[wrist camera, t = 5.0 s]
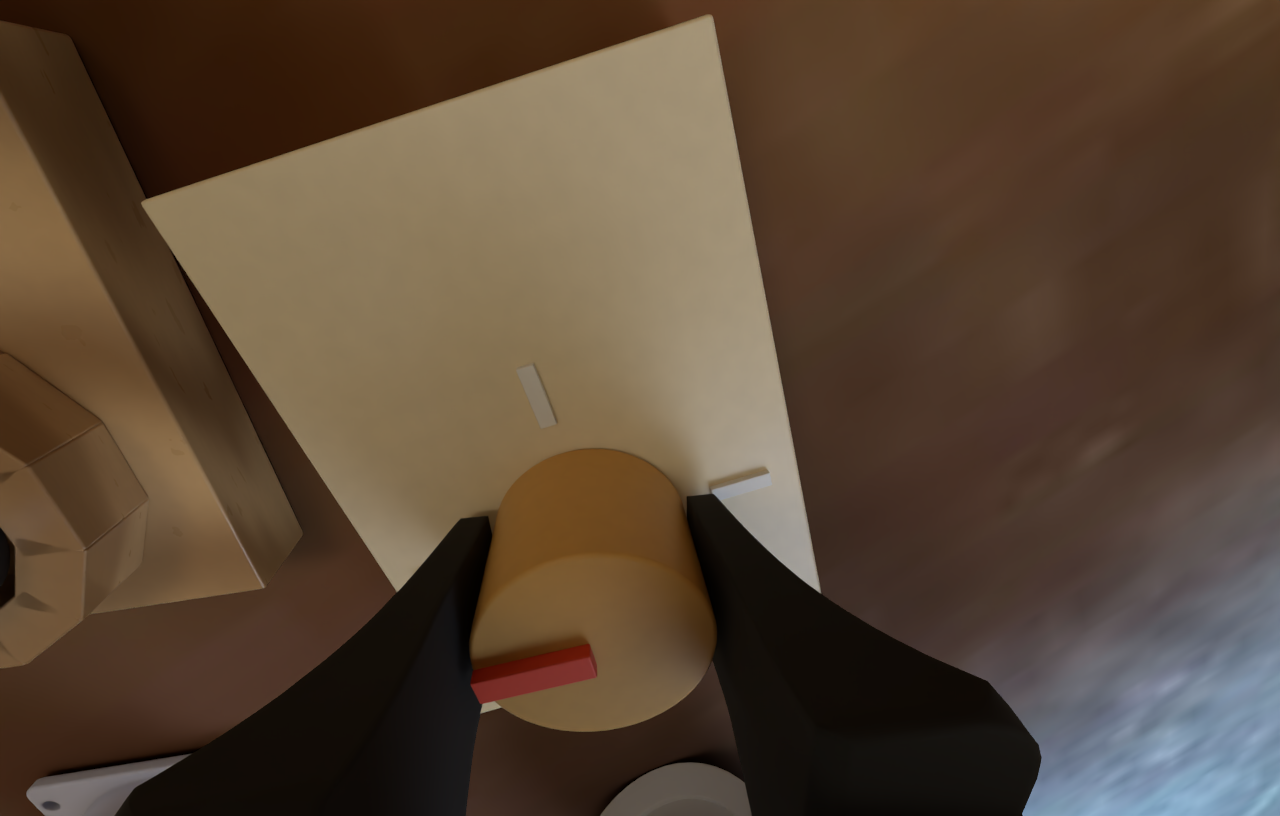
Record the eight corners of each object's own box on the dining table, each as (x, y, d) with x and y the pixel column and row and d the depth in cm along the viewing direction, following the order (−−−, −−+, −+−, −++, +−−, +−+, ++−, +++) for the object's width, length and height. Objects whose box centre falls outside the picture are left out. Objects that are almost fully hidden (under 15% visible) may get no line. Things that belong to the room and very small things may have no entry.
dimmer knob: (666, 426, 12) (700, 540, 9) (698, 577, 14) (737, 718, 10) (469, 472, 12) (424, 603, 9) (528, 616, 14) (511, 770, 10)
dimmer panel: (788, 544, 18) (828, 620, 15) (492, 630, 18) (475, 720, 15) (682, 43, 12) (715, 9, 9) (237, 188, 12) (130, 202, 9)
